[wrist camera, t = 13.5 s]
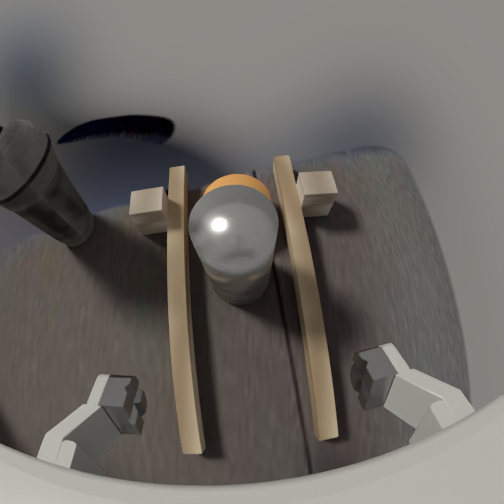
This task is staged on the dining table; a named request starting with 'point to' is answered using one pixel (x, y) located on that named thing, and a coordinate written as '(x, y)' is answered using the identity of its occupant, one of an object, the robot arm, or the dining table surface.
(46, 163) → the beverage cup
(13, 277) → the dining table surface
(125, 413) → the robot arm
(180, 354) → the guide track
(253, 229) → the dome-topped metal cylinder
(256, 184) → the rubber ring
